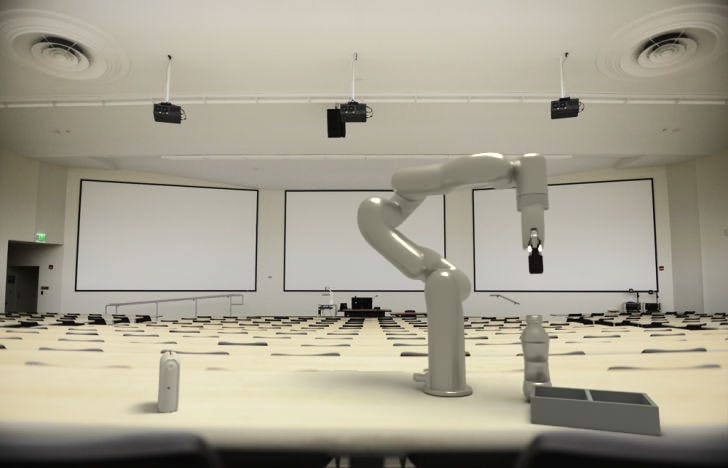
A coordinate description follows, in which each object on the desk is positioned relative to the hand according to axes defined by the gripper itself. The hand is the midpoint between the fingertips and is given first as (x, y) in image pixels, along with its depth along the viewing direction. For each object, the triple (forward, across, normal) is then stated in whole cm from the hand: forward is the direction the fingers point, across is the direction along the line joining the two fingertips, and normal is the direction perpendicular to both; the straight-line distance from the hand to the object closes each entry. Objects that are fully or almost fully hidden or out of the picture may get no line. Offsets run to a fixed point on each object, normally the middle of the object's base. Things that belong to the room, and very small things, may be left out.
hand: (536, 273), depth 112 cm
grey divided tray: (+30, +14, +9) cm, 34 cm away
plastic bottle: (+30, +1, -1) cm, 30 cm away
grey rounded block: (+30, +34, -80) cm, 92 cm away
